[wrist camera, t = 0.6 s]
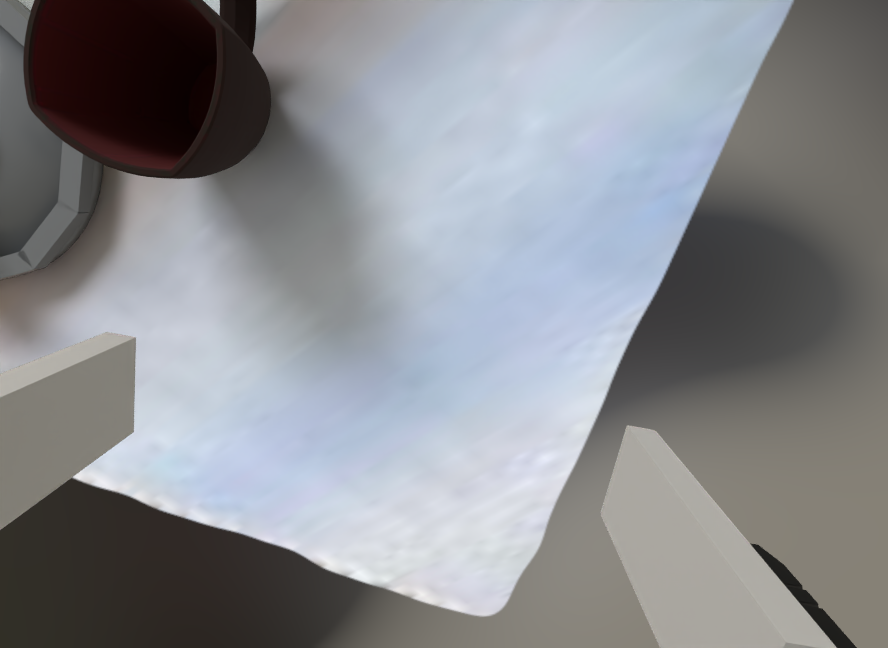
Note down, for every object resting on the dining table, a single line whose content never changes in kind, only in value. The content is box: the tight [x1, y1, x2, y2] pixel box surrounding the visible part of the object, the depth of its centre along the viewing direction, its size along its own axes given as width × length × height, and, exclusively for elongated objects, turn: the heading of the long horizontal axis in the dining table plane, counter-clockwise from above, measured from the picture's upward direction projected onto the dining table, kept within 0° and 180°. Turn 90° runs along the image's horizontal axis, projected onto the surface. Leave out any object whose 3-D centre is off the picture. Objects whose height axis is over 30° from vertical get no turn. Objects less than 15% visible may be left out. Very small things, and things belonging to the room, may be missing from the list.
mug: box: [23, 0, 271, 179], centre depth 30 cm, size 10×14×12 cm
